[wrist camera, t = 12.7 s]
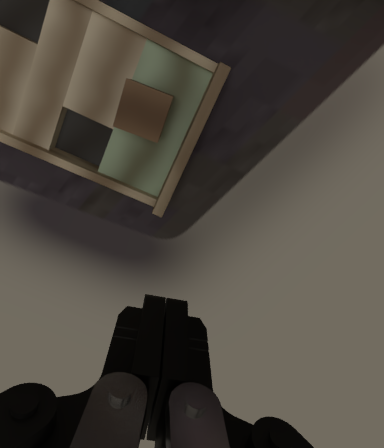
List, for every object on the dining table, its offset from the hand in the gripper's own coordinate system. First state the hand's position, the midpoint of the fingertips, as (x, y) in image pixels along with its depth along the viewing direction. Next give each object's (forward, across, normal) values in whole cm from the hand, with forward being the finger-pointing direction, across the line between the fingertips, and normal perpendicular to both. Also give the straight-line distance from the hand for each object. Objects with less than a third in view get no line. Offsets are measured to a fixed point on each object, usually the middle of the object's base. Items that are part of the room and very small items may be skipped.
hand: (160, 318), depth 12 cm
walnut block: (+24, +4, -5) cm, 25 cm away
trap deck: (+26, +12, -6) cm, 29 cm away
